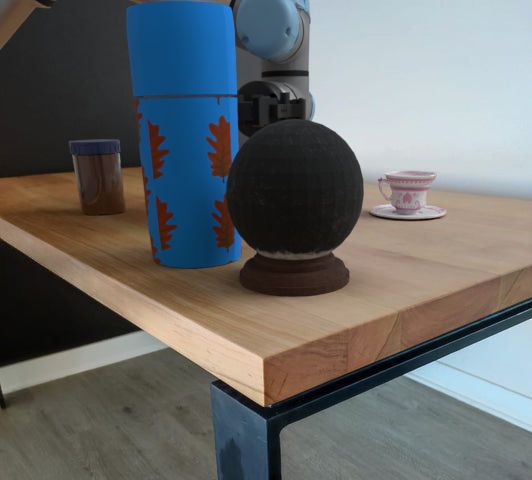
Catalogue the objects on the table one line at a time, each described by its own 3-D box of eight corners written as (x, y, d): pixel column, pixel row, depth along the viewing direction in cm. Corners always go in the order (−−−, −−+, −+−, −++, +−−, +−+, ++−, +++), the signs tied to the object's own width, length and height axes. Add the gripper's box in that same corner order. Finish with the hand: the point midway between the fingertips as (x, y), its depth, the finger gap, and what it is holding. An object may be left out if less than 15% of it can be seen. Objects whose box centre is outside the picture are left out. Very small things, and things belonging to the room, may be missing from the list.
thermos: (237, 243, 70) (228, 18, 60) (249, 265, 61) (240, 1, 50) (152, 248, 69) (127, 17, 58) (150, 271, 59) (120, -1, 49)
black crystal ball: (295, 255, 64) (296, 116, 58) (386, 278, 55) (398, 117, 49) (204, 278, 56) (193, 120, 50) (291, 309, 47) (292, 121, 41)
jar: (75, 215, 91) (64, 146, 87) (88, 208, 98) (79, 143, 94) (120, 214, 91) (111, 145, 87) (130, 207, 98) (123, 142, 94)
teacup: (438, 207, 92) (442, 169, 90) (453, 220, 81) (458, 177, 79) (366, 207, 93) (369, 169, 91) (372, 220, 82) (374, 178, 80)
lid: (63, 154, 87) (61, 142, 86) (79, 150, 94) (77, 139, 94) (114, 153, 87) (112, 141, 86) (126, 149, 94) (124, 138, 94)
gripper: (347, 137, 77) (305, 148, 58) (190, 138, 84) (109, 147, 66) (350, 78, 73) (306, 70, 55) (186, 84, 81) (101, 79, 63)
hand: (199, 112), depth 61 cm, fingers open, 13 cm apart
